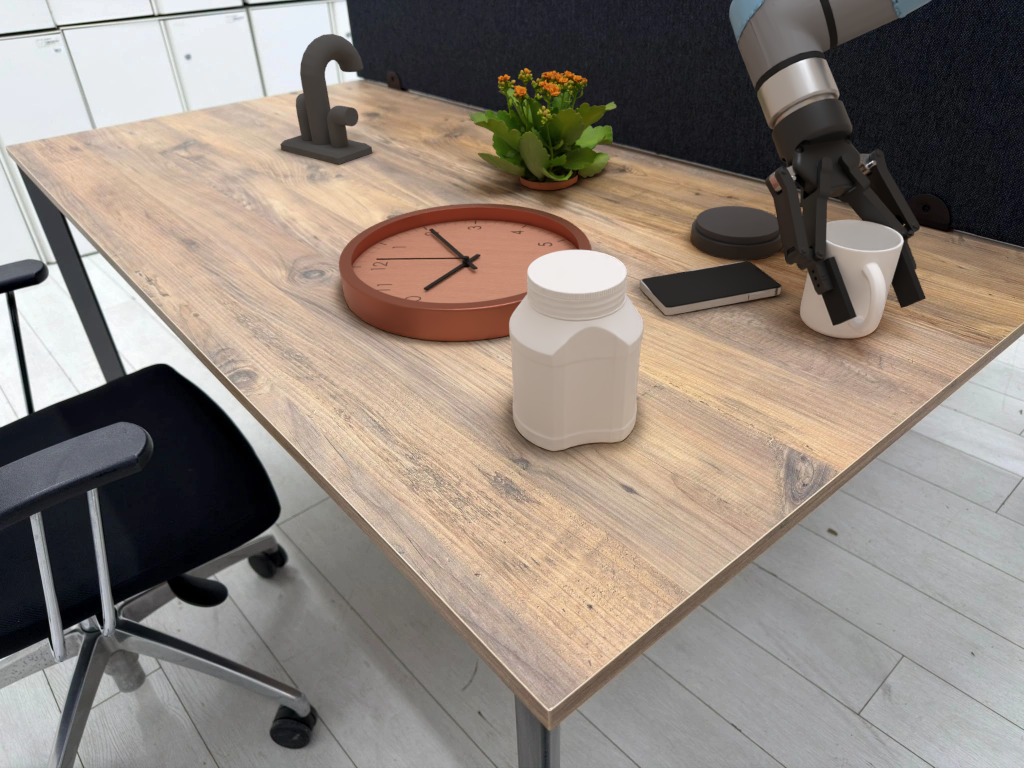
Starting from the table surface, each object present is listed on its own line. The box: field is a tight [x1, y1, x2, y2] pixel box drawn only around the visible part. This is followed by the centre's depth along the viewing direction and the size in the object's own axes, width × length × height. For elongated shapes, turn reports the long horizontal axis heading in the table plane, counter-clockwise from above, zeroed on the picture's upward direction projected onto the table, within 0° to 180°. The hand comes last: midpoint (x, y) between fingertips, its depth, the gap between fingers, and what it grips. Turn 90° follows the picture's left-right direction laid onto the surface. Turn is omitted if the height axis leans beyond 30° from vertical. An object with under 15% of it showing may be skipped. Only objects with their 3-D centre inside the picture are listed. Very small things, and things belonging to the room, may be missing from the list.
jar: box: [509, 250, 644, 452], centre depth 64 cm, size 12×10×15 cm
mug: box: [799, 219, 904, 339], centre depth 76 cm, size 12×8×10 cm
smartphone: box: [639, 260, 783, 316], centre depth 87 cm, size 8×1×15 cm
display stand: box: [689, 205, 782, 261], centre depth 98 cm, size 12×12×3 cm
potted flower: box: [468, 67, 617, 191], centre depth 116 cm, size 25×24×18 cm
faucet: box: [279, 33, 373, 165], centre depth 136 cm, size 18×16×20 cm
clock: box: [338, 202, 592, 342], centre depth 91 cm, size 31×4×31 cm
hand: (879, 312), depth 74 cm, fingers closed on mug, 8 cm apart
